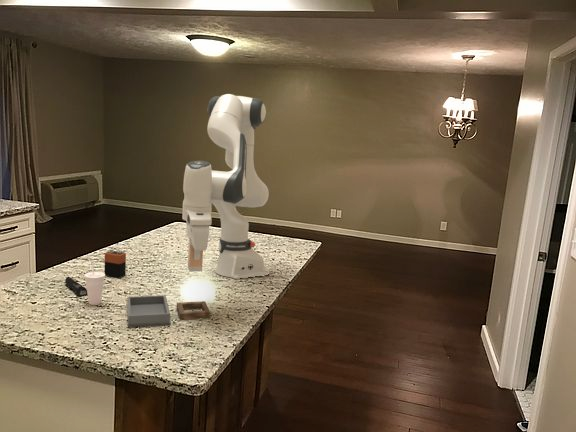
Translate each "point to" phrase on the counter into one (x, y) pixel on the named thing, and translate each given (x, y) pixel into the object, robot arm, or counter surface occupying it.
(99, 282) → the smoothie
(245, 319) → the counter surface
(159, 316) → the tray
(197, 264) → the block
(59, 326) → the counter surface
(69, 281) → the electric trimmer
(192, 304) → the frame
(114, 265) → the battery
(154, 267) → the counter surface
